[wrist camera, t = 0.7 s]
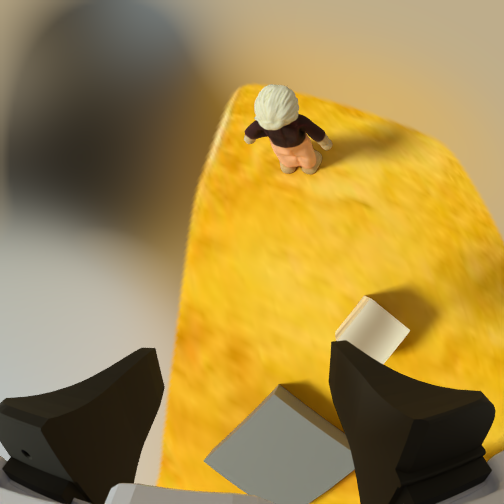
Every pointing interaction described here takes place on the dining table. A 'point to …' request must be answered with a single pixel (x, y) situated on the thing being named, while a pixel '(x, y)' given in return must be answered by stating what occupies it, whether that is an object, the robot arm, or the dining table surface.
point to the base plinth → (283, 452)
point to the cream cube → (372, 330)
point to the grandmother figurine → (287, 130)
